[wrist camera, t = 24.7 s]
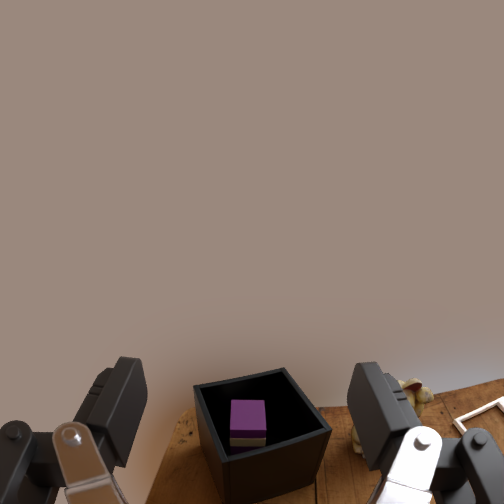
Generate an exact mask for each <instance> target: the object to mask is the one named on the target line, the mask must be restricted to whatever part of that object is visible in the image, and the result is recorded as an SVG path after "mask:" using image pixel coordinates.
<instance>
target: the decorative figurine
mask: <svg viewBox="0 0 504 504" xmlns="http://www.w3.org/2000/svg"><path fill="white" fill-rule="evenodd" d="M397 381H398V382H399V384H400V386H401V388H402V389H403V392H404V393H405V395H406V397H407V400H409V402H410V404H411V406H412V407H413V409H414V411H415V413H416V415H417V417H418V418H419V417H420V416H421V414H422V412H423V409H424V404H426V403H429V402H431V401H432V400H433V393H432V392H431V390H430V389H429V388H427V387H423V388H421V387H422V383H421V381H420V380H419V379H416V378H412V379H409V380H408V381H406V382H404V381H400V380H397ZM351 437H352V444H353V449H354V452H355V453H356V454H358V453H359V454H362V457H363V458H365V456H364V453H363V450H362V447H361V444H360V441H359V438H358V435H357V432H356V429H355V426H354V425H353V427H352V430H351Z"/></svg>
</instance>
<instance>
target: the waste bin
mask: <svg viewBox="0 0 504 504" xmlns="http://www.w3.org/2000/svg"><path fill="white" fill-rule="evenodd" d="M193 389H194V398H195V407H196V415H197V423H198V430H199V438H200V445H201V448H202V450H203V453H204V456H205V459H206V461H207V464H208V467H209V470H210V472H211V475H212V478H213V480H214V483H215V485H216V488H217V490H218V493H219V495H220V498H221V500H222V503H223V504H253V503H257V502H260V501H264V500H267V499H270V498H273V497H277V496H280V495H283V494H286V493H289V492H291V491H294V490H297V489H300V488H302V487H305V486H308V485H310V484H313V483H314V480H315V478H316V475H317V472H318V470H319V467H320V464H321V461H322V459H323V456H324V453H325V450H326V447H327V444H328V441H329V438H330V435H331V432H332V428H331V427H330V426H329V424H328V423H327V422H326V421H325V419H324V418H323V417H322V416H321V414H320V413H319V412H318V410H317V409H316V408H315V407H314V405H313V404H312V403H311V402H310V400H309V399H308V398H307V396H306V395H305V394H304V392H303V391H302V390H301V389H300V387H299V386H298V385H297V383H296V382H295V381H294V379H293V378H292V377H291V376H290V374H289V373H288V372H287V370H286V369H285V368H284V367H283V368H280V369H275V370H270V371H266V372H262V373H257V374H253V375H248V376H243V377H238V378H233V379H228V380H223V381H217V382H212V383H206V384H200V385H194V386H193ZM231 400H264V405H265V418H266V442H265V447H263V448H259V449H255V450H251V451H248V452H244V453H240V454H235V455H231V452H230V416H231Z"/></svg>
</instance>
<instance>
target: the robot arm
mask: <svg viewBox="0 0 504 504" xmlns="http://www.w3.org/2000/svg"><path fill="white" fill-rule="evenodd" d="M146 402H147V385H146V381H145V377H144V371H143V367H142V362H141V360H140V359H139V358H129V357H122V356H121V357H120V358H119V359H118V361H117V363H116V365H115V367H114V368H106V369H105V370H104V371H103V372H101V373H100V374H99V375H98V376H97V378H96V380H95V381H94V383H93V386H92V387H91V388H90V390H89V394H87V396H86V398H85V399H84V401H83V403H82V405H81V407H80V409H79V410H78V412H77V414H76V416H75V418H74V420H73V421H72V422H67V423H64V424H62V425H60V426H59V427H57V428H56V430H55V431H54V432H32V430H31V429H30V427H29V425H27V424H26V423H25V422H23V421H18V420H15V421H10V422H8V423H6V424H5V425H3V426H2V428H1V429H0V504H54V503H55V500H56V497H57V494H58V491H59V488H60V487H67V488H65V489H64V492H65V496H66V499H67V501H68V504H128V502H127V501H126V499H125V497H124V495H123V493H122V491H121V490H120V488H119V486H118V484H117V482H116V480H115V478H114V476H113V474H112V473H113V470H114V467H115V466H119V467H124V468H125V467H126V463H127V460H128V457H129V454H130V451H131V448H132V445H133V441H134V438H135V435H136V432H137V429H138V426H139V423H140V420H141V417H142V414H143V412H144V408H145V406H146ZM347 405H348V409H349V411H350V414H351V417H352V420H353V423H354V426H355V429H356V432H357V435H358V438H359V441H360V444H361V447H362V450H363V453H364V456H365V459H366V462H367V465H368V468H369V471H373V470H379V469H380V471H381V474H382V475H381V477H380V479H379V481H378V482H377V484H376V486H375V488H374V490H373V492H372V494H371V496H370V498H369V500H368V501H367V503H366V504H429V503H430V500H431V497H432V493H433V496H434V499H435V502H436V504H504V456H503V454H502V452H501V450H500V449H499V447H498V445H497V443H496V442H495V440H494V438H493V437H492V435H491V434H490V433H489V432H488V431H486V430H485V429H482V428H477V427H476V428H470V429H468V430H467V431H466V432H465V433H464V434H463V436H462V437H461V438H441V437H440V435H439V434H438V433H437V432H436V431H435V430H433V429H431V428H428V427H424V426H422V424H421V422H420V420H419V418H418V417H417V415H416V413H415V411H414V409H413V407H412V406H411V404H410V402H409V400H407V397H406V395H405V393H404V392H403V389H402V388H401V386H400V384H399V382H398V381H397V380H396V379H395V378H393V377H392V376H391V375H390V374H389V373H385V374H383V373H382V371H381V369H380V367H379V365H378V364H377V362H365V363H357V364H356V365H355V368H354V372H353V375H352V379H351V382H350V386H349V389H348V394H347ZM468 480H469V482H470V484H469V482H468ZM470 485H471V486H470ZM471 487H472V488H471ZM472 489H473V491H472ZM473 492H474V493H473ZM474 494H475V496H474Z"/></svg>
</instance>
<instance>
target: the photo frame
mask: <svg viewBox="0 0 504 504" xmlns="http://www.w3.org/2000/svg"><path fill="white" fill-rule="evenodd" d="M496 405H497V406H498V407H499V408H500V409H501V410H502V411H503V413H504V396H503V397H501V398H499V399H497V400H495V401H493V402H491V403H489V404H487V405H485V406H483V407H481V408H479V409H477V410H475V411H472V412H470V413H468V414H466V415H463V416H461V417H459V418H456V419H455V420H454V421H453V424H454V425H455V426H456V427H457V429H458V430H459V431H460V433H461V434H462V435H463V434H464V433H465V432H466V431H467V430H466V428H465V427H464V426H463V424H462V423H461V422H462V421H465V420H467V419H469V418H471V417H473V416H475V415H477V414H480V413H482V412H484V411H486V410H488V409H490V408H492V407H494V406H496Z"/></svg>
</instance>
